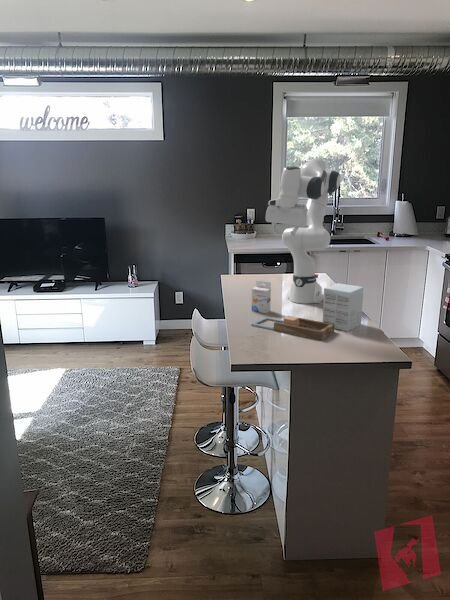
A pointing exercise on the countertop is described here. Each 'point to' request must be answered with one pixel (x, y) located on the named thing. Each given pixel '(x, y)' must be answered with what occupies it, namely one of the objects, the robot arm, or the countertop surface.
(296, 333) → the walnut cubby
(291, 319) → the terracotta block
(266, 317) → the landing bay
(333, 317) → the supplement box
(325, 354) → the countertop surface
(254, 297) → the ink box
